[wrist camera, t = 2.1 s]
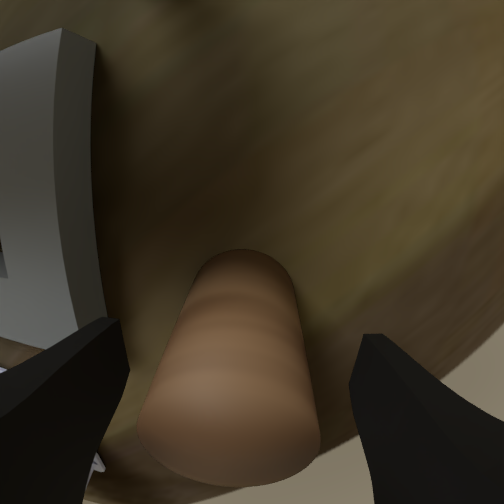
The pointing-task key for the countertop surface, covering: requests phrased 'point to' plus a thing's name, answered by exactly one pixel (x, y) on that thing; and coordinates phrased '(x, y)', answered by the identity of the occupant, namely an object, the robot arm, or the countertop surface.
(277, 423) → the peg
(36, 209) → the socket
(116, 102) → the countertop surface
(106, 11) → the countertop surface
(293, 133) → the countertop surface
